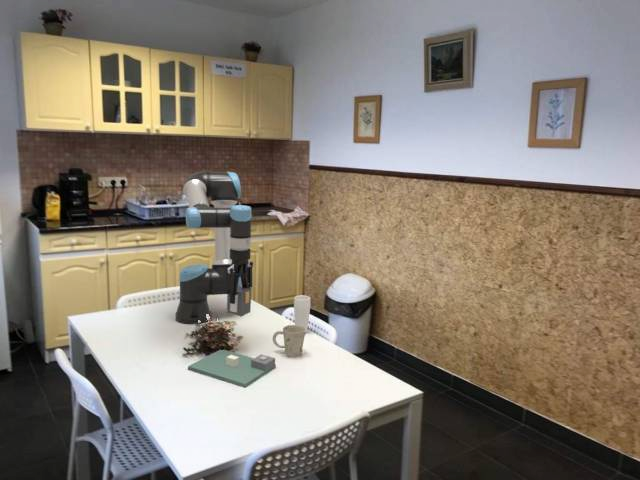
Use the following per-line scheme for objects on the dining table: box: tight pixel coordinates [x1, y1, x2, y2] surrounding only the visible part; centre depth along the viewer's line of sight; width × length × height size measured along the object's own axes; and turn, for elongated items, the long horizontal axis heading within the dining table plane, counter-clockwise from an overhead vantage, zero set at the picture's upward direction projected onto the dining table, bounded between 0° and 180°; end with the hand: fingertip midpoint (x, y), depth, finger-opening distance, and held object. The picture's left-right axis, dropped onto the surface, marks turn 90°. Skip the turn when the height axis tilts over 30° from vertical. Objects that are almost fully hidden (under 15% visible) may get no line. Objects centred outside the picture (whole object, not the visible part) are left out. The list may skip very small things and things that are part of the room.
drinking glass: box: [293, 294, 311, 334], centre depth 215 cm, size 7×7×15 cm
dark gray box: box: [226, 286, 252, 317], centre depth 191 cm, size 7×6×9 cm
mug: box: [271, 324, 306, 358], centre depth 193 cm, size 8×13×10 cm, turn 78°
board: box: [187, 349, 277, 388], centre depth 178 cm, size 24×18×4 cm
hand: (238, 309), depth 192 cm, fingers closed on dark gray box, 6 cm apart
